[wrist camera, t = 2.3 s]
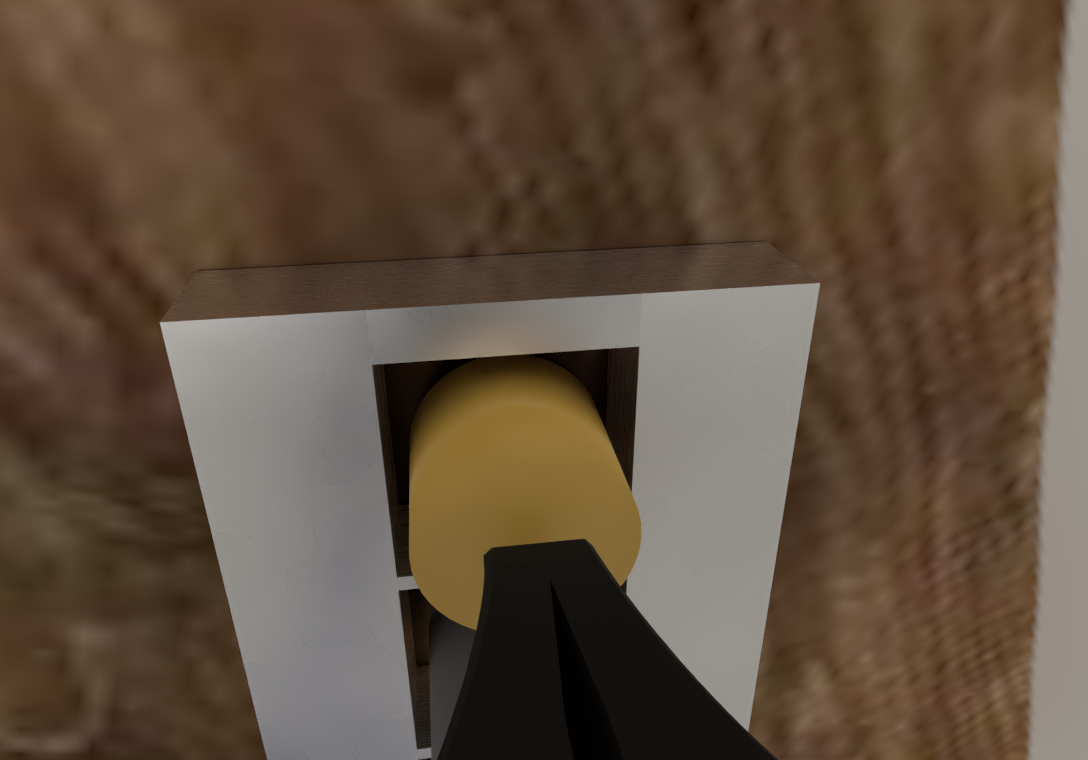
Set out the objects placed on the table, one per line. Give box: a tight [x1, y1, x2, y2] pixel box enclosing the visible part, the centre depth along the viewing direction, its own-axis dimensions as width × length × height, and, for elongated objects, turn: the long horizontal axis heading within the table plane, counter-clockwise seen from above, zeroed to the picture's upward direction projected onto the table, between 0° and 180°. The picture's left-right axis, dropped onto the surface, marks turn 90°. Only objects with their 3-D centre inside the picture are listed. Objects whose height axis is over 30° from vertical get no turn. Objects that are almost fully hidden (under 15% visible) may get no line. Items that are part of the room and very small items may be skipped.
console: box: [160, 241, 820, 760], centre depth 17 cm, size 15×10×2 cm, turn 1°
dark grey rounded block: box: [429, 608, 476, 760], centre depth 15 cm, size 3×3×3 cm
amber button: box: [409, 355, 642, 630], centre depth 13 cm, size 3×3×3 cm
